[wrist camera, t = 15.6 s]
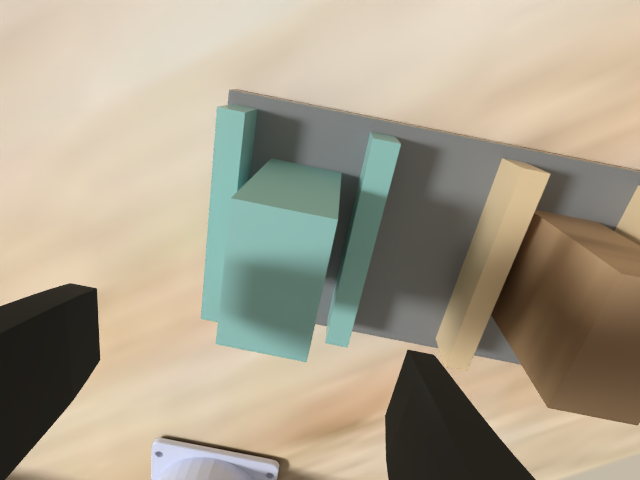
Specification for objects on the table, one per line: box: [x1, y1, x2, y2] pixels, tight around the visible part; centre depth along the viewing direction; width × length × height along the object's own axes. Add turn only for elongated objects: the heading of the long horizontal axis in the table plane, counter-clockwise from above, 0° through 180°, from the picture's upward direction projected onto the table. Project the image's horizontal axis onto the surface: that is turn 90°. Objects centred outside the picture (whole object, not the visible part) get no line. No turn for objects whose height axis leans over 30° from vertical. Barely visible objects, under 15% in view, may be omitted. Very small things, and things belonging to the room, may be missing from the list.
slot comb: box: [201, 89, 640, 371], centre depth 17 cm, size 10×18×3 cm, turn 80°
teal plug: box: [216, 158, 342, 362], centre depth 14 cm, size 5×3×6 cm, turn 169°
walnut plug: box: [491, 210, 640, 425], centre depth 14 cm, size 5×3×6 cm, turn 170°
